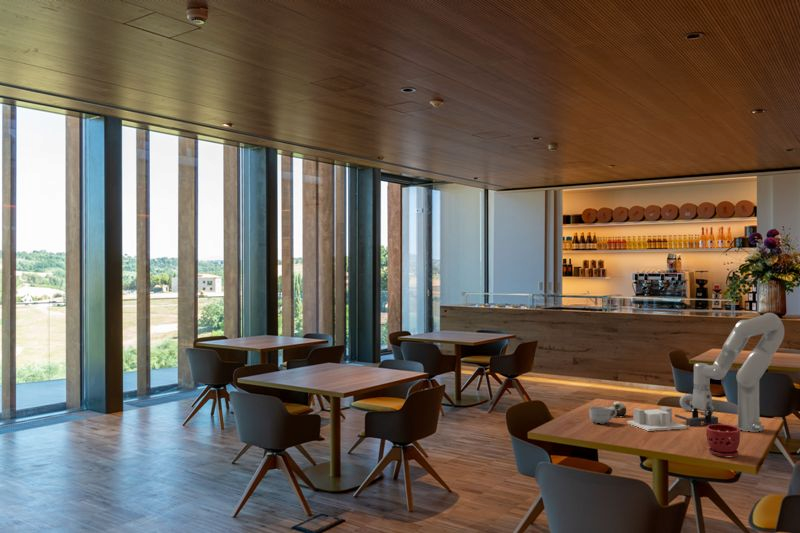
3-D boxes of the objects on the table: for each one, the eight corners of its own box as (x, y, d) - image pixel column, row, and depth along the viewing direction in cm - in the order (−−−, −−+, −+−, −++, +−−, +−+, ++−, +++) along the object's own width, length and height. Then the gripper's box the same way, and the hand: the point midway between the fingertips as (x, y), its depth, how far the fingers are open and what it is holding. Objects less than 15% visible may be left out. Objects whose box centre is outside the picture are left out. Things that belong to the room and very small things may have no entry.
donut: (679, 410, 370) (679, 393, 370) (680, 409, 373) (679, 392, 373) (698, 412, 365) (698, 394, 365) (699, 411, 368) (699, 393, 368)
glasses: (718, 424, 338) (718, 417, 338) (689, 426, 334) (689, 419, 334) (702, 419, 350) (702, 412, 350) (674, 421, 346) (674, 414, 346)
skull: (604, 415, 356) (604, 399, 362) (605, 425, 363) (605, 409, 369) (628, 416, 352) (627, 399, 358) (628, 426, 359) (627, 409, 366)
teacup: (588, 424, 340) (588, 409, 340) (590, 419, 350) (589, 405, 350) (616, 426, 335) (616, 410, 335) (617, 421, 345) (617, 406, 345)
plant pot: (701, 450, 289) (701, 423, 289) (733, 451, 288) (732, 424, 288) (713, 459, 276) (712, 430, 276) (745, 459, 275) (745, 431, 275)
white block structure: (686, 428, 328) (686, 412, 328) (648, 431, 323) (648, 414, 323) (663, 421, 346) (663, 405, 346) (627, 423, 340) (627, 407, 340)
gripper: (719, 390, 330) (719, 424, 330) (696, 384, 347) (696, 416, 347) (707, 390, 328) (707, 424, 328) (684, 384, 345) (684, 417, 345)
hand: (701, 420), depth 338 cm, fingers open, 9 cm apart
